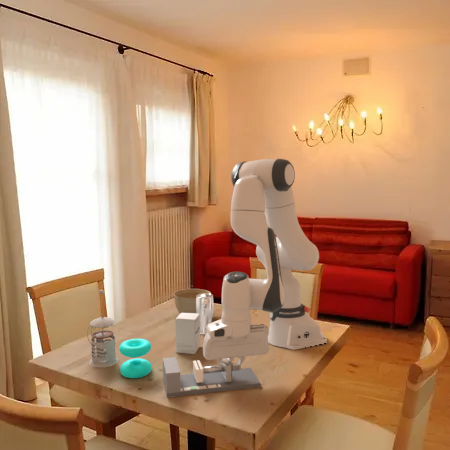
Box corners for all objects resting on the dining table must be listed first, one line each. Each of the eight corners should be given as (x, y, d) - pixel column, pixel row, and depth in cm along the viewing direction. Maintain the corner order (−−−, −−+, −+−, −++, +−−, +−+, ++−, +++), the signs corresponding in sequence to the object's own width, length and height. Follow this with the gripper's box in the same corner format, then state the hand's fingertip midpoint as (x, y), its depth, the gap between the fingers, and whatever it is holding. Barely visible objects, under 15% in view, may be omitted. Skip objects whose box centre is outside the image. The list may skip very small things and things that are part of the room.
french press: (103, 370, 154) (100, 295, 150) (79, 362, 160) (75, 290, 156) (124, 359, 162) (122, 288, 159) (100, 352, 168) (97, 284, 165)
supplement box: (195, 354, 166) (195, 319, 164) (175, 352, 167) (174, 318, 166) (200, 346, 173) (200, 313, 171) (181, 345, 174) (180, 312, 173)
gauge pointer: (199, 372, 146) (199, 359, 145) (203, 382, 139) (203, 368, 139) (193, 373, 145) (193, 360, 145) (196, 382, 139) (196, 369, 138)
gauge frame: (250, 371, 152) (250, 349, 151) (260, 386, 141) (260, 364, 140) (163, 380, 146) (162, 358, 145) (166, 397, 135) (166, 373, 134)
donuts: (132, 351, 143) (112, 343, 150) (133, 382, 145) (113, 373, 151) (157, 342, 151) (137, 334, 157) (158, 372, 152) (138, 363, 159)
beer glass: (204, 327, 192) (204, 292, 190) (217, 331, 188) (217, 295, 186) (192, 332, 187) (192, 295, 185) (205, 336, 183) (205, 299, 181)
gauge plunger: (226, 369, 149) (226, 354, 148) (232, 381, 141) (232, 365, 140) (199, 372, 147) (198, 357, 146) (203, 384, 139) (203, 368, 138)
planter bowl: (205, 325, 196) (205, 299, 195) (168, 322, 200) (168, 297, 198) (215, 313, 211) (215, 289, 210) (181, 310, 215) (180, 287, 214)
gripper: (265, 320, 148) (265, 362, 150) (201, 325, 144) (202, 368, 146) (272, 327, 142) (271, 370, 144) (205, 332, 138) (205, 377, 139)
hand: (236, 369), depth 145 cm, fingers closed
